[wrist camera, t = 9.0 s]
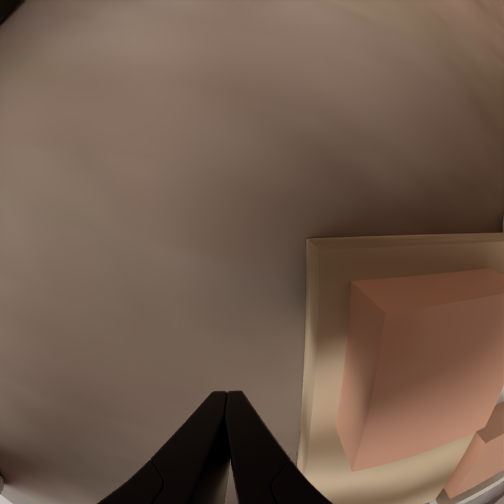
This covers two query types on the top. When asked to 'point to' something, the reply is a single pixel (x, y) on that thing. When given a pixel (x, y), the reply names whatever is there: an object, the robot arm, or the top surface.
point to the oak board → (334, 348)
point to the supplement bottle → (6, 7)
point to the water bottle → (1, 484)
